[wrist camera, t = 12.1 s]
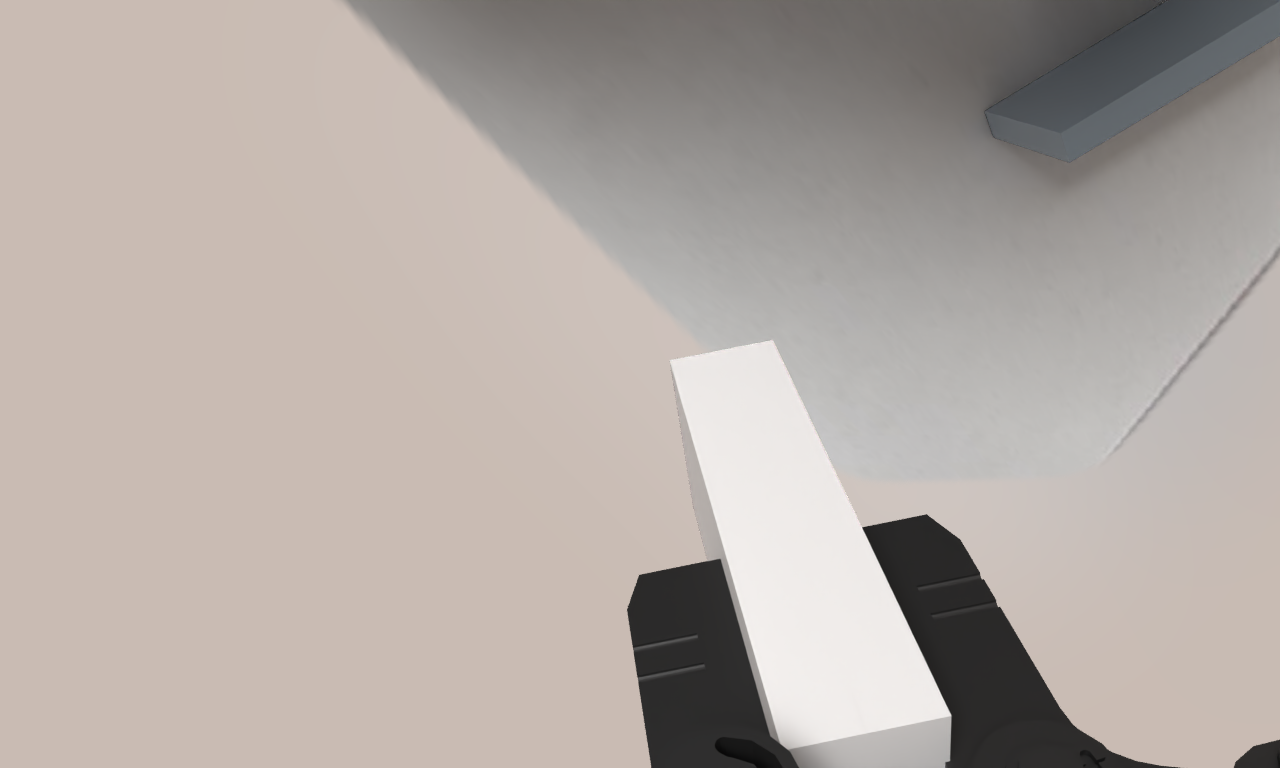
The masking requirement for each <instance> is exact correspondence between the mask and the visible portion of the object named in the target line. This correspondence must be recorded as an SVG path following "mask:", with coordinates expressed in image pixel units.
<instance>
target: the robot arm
mask: <svg viewBox="0 0 1280 768" xmlns="http://www.w3.org/2000/svg"><path fill="white" fill-rule="evenodd" d="M670 366H671V372H672V378H673V385H674V391H675V397H676V403H677V409H678V416H679V422H680V428H681V434H682V440H683V446H684V453H685V459H686V465H687V471H688V477H689V484H690V490H691V496H692V503H693V508H694V511H695V515H696V519H697V523H698V526H699V530H700V534H701V538H702V542H703V546H704V549H705V553H706V557H707V561H706V562H701V563H696V564H691V565H686V566H681V567H676V568H671V569H666V570H661V571H656V572H652V573H647V574H642V575H639V577H638V580H637V583H636V586H635V589H634V591H633V594H632V597H631V600H630V603H629V606H628V609H627V611H628V618H629V625H630V631H631V638H632V645H633V650H634V657H635V664H636V671H637V677H638V681H639V689H640V696H641V703H642V709H643V716H644V722H645V729H646V735H647V742H648V748H649V755H650V760H651V768H1178V767H1167V766H1159V765H1153V764H1148V763H1143V762H1138V761H1134V760H1132V759H1128V758H1126V757H1123V756H1121V755H1118V754H1115V753H1112V752H1111V751H1109V750H1107V749H1106V747H1105V746H1104V745H1103V744H1102V743H1100V742H1098V741H1097V740H1095V739H1093V738H1092V737H1090V736H1088V735H1087V734H1085V733H1083V732H1082V731H1080V730H1079V729H1077V728H1076V727H1075V726H1074V725H1073V724H1072V723H1071V722H1070V720H1069V719H1068V718H1067V716H1066V715H1065V714H1064V712H1063V711H1062V710H1061V709H1060V707H1059V706H1058V704H1057V702H1056V700H1055V699H1054V697H1053V695H1052V694H1051V692H1050V690H1049V689H1048V687H1047V685H1046V684H1045V682H1044V680H1043V679H1042V677H1041V675H1040V673H1039V672H1038V670H1037V669H1036V667H1035V665H1034V663H1033V662H1032V660H1031V658H1030V656H1029V655H1028V653H1027V652H1026V650H1025V648H1024V647H1023V645H1022V643H1021V641H1020V640H1019V638H1018V636H1017V635H1016V633H1015V631H1014V629H1013V628H1012V626H1011V624H1010V623H1009V621H1008V619H1007V618H1006V616H1005V614H1004V613H1003V611H1002V609H1001V608H1000V607H998V606H997V603H996V599H995V597H994V596H993V594H992V592H991V591H990V589H989V587H988V586H987V584H986V582H985V580H984V579H983V580H982V579H981V576H980V572H979V570H978V569H977V567H976V565H975V564H974V562H973V560H972V559H971V557H970V555H969V553H968V552H967V550H966V549H965V547H964V545H963V544H962V542H961V540H960V539H959V538H957V537H956V536H955V535H953V534H952V533H951V532H949V531H948V530H947V529H945V528H944V527H943V526H941V525H940V524H939V523H937V522H936V521H935V520H933V519H932V518H931V517H929V516H928V515H927V514H926V515H922V516H917V517H912V518H907V519H902V520H897V521H892V522H887V523H882V524H877V525H872V526H867V527H861V524H860V522H859V520H858V518H857V516H856V514H855V512H854V510H853V507H852V505H851V503H850V501H849V499H848V497H847V495H846V493H845V491H844V489H843V486H842V484H841V482H840V480H839V478H838V476H837V474H836V472H835V470H834V467H833V465H832V463H831V461H830V459H829V457H828V455H827V453H826V451H825V448H824V446H823V444H822V442H821V440H820V438H819V436H818V434H817V432H816V429H815V427H814V425H813V423H812V421H811V419H810V417H809V415H808V413H807V411H806V408H805V406H804V404H803V402H802V400H801V398H800V396H799V394H798V392H797V389H796V387H795V385H794V383H793V381H792V379H791V377H790V375H789V373H788V370H787V368H786V366H785V364H784V362H783V360H782V358H781V356H780V354H779V352H778V349H777V347H776V345H775V343H774V341H773V340H769V341H764V342H759V343H754V344H749V345H744V346H739V347H734V348H729V349H724V350H719V351H714V352H708V353H703V354H699V355H693V356H689V357H683V358H679V359H673V360H670ZM1234 768H1280V740H1277V741H1273V742H1269V743H1265V744H1261V745H1257V746H1253V747H1252V748H1251V749H1250V750H1249V751H1248V752H1247V753H1245V754H1244V755H1243V756H1242V757H1241V758H1240V759H1239V760H1237V761H1236V762H1235V766H1234Z"/></svg>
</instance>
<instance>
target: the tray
mask: <svg viewBox="0 0 1280 768" xmlns="http://www.w3.org/2000/svg"><path fill="white" fill-rule="evenodd" d="M1279 36H1280V0H1168V1H1166V2H1164V3H1163V4H1161V5H1159V6H1158V7H1156V8H1155V9H1153V10H1151V11H1150V12H1148V13H1146V14H1145V15H1143V16H1141V17H1140V18H1138V19H1136V20H1135V21H1133V22H1131V23H1130V24H1128V25H1126V26H1125V27H1123V28H1121V29H1120V30H1118V31H1116V32H1115V33H1113V34H1111V35H1110V36H1108V37H1107V38H1105V39H1103V40H1102V41H1100V42H1098V43H1097V44H1095V45H1093V46H1092V47H1090V48H1088V49H1087V50H1085V51H1083V52H1082V53H1080V54H1078V55H1077V56H1075V57H1073V58H1072V59H1070V60H1068V61H1067V62H1065V63H1063V64H1062V65H1060V66H1059V67H1057V68H1055V69H1054V70H1052V71H1050V72H1049V73H1047V74H1045V75H1044V76H1042V77H1040V78H1039V79H1037V80H1035V81H1034V82H1032V83H1030V84H1029V85H1027V86H1025V87H1024V88H1022V89H1020V90H1019V91H1017V92H1016V93H1014V94H1012V95H1011V96H1009V97H1007V98H1006V99H1004V100H1002V101H1001V102H999V103H997V104H996V105H994V106H992V107H991V108H989V109H987V110H986V111H985V114H986V117H987V120H988V123H989V125H990V128H991V131H992V134H993V137H994V138H997V139H1000V140H1003V141H1006V142H1009V143H1012V144H1015V145H1018V146H1021V147H1024V148H1027V149H1030V150H1033V151H1036V152H1039V153H1042V154H1045V155H1048V156H1051V157H1054V158H1057V159H1060V160H1063V161H1066V162H1069V163H1070V162H1072V161H1073V160H1075V159H1076V158H1078V157H1080V156H1081V155H1083V154H1085V153H1086V152H1088V151H1090V150H1091V149H1093V148H1095V147H1096V146H1098V145H1100V144H1101V143H1103V142H1105V141H1106V140H1108V139H1110V138H1111V137H1113V136H1115V135H1116V134H1118V133H1120V132H1121V131H1123V130H1125V129H1126V128H1128V127H1130V126H1131V125H1133V124H1135V123H1136V122H1138V121H1140V120H1141V119H1143V118H1145V117H1146V116H1148V115H1149V114H1151V113H1153V112H1154V111H1156V110H1158V109H1159V108H1161V107H1163V106H1164V105H1166V104H1168V103H1169V102H1171V101H1173V100H1174V99H1176V98H1178V97H1179V96H1181V95H1183V94H1184V93H1186V92H1188V91H1189V90H1191V89H1193V88H1194V87H1196V86H1198V85H1199V84H1201V83H1203V82H1204V81H1206V80H1208V79H1209V78H1211V77H1213V76H1214V75H1216V74H1217V73H1219V72H1221V71H1222V70H1224V69H1226V68H1227V67H1229V66H1231V65H1232V64H1234V63H1236V62H1237V61H1239V60H1241V59H1242V58H1244V57H1246V56H1247V55H1249V54H1251V53H1252V52H1254V51H1256V50H1257V49H1259V48H1261V47H1262V46H1264V45H1266V44H1267V43H1269V42H1271V41H1272V40H1274V39H1276V38H1277V37H1279Z"/></svg>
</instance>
